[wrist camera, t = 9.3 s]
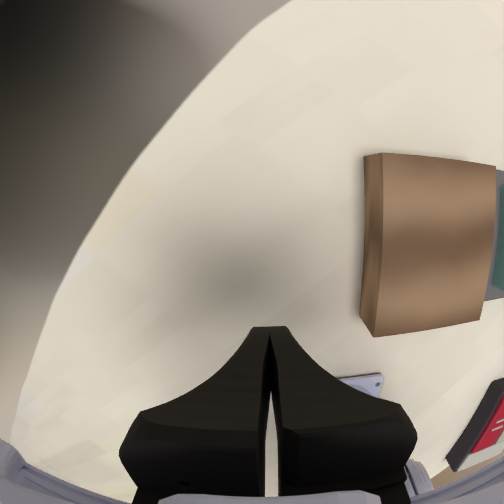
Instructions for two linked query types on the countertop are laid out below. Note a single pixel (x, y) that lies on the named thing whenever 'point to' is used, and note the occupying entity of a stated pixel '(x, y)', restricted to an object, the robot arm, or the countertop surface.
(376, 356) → the countertop surface
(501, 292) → the mat
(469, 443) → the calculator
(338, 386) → the robot arm
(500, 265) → the block
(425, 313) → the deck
